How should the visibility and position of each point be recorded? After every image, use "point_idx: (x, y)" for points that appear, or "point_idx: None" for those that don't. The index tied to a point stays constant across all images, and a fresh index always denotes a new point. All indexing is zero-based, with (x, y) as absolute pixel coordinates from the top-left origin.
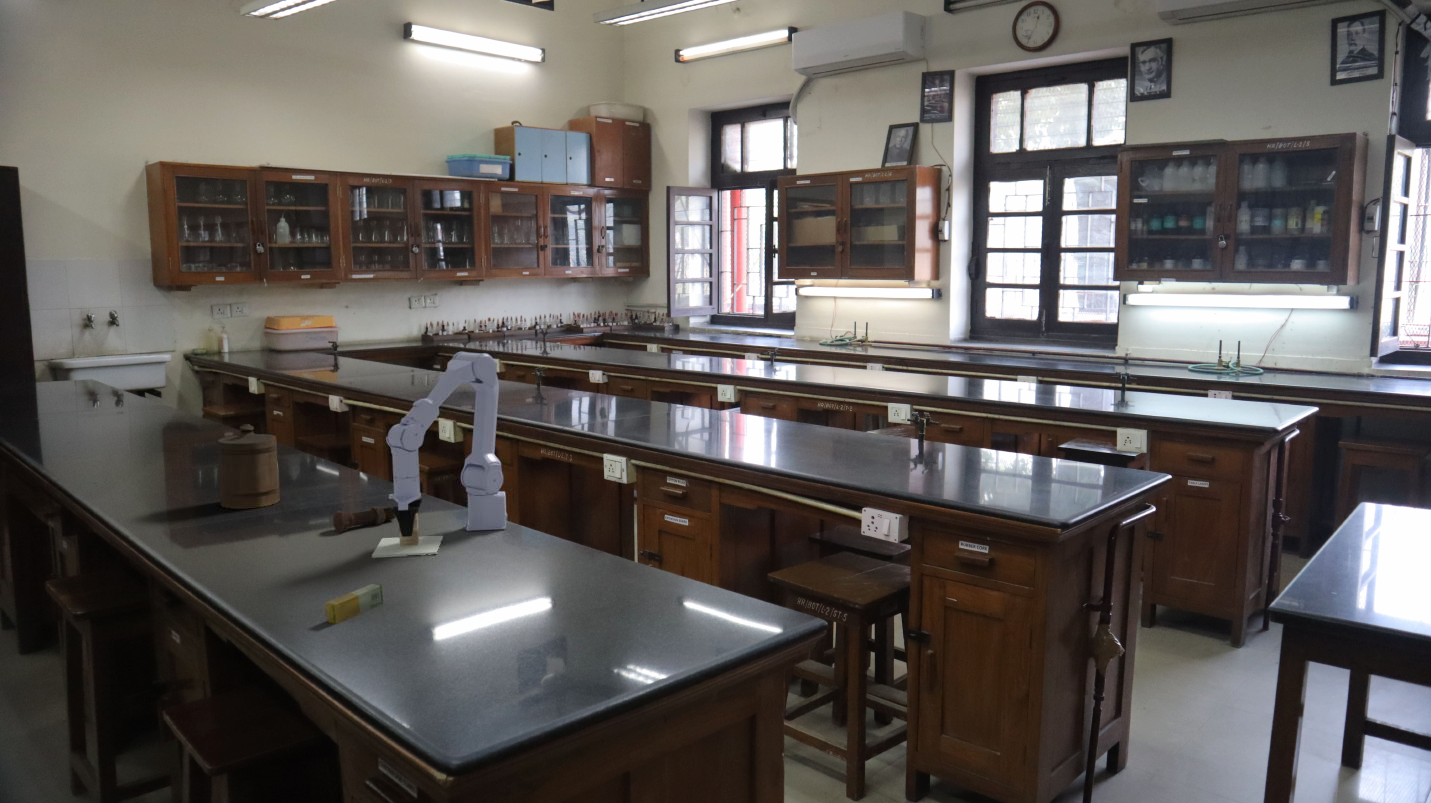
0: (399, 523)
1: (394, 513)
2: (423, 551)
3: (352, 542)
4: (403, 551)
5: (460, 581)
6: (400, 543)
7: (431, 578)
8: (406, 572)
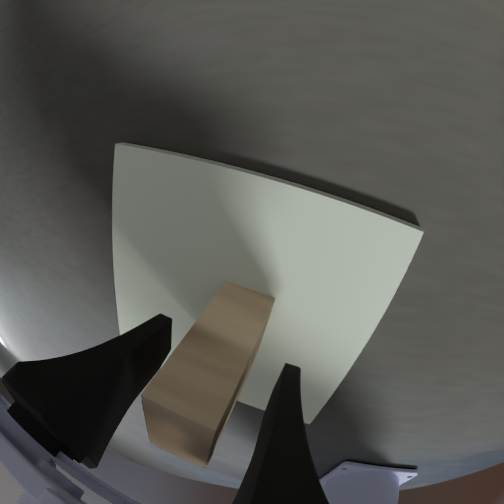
0: (98, 347)
1: (26, 362)
2: (131, 324)
3: (456, 69)
4: (137, 271)
5: (10, 302)
6: (221, 289)
7: (9, 269)
8: (22, 234)
